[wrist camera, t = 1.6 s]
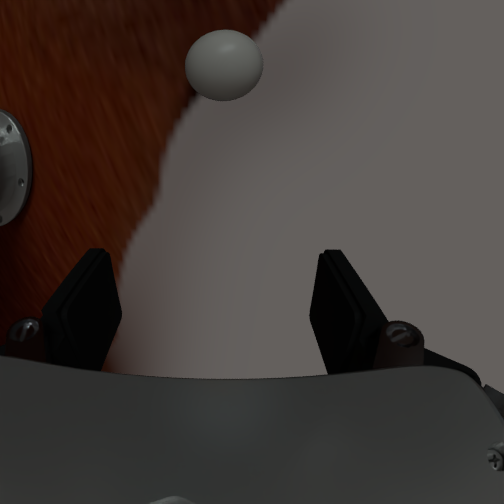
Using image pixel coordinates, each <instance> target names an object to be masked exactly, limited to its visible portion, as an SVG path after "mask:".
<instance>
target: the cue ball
mask: <svg viewBox="0 0 504 504" xmlns="http://www.w3.org/2000/svg"><path fill="white" fill-rule="evenodd" d="M262 71H263V58H262V54H261V52H260V50H259V48H258V46H257V45H256V44H255V42H254V41H253V40H252V39H250V38H249V37H248V36H246V35H244V34H242V33H240V32H237V31H233V30H218V31H213V32H210V33H208V34H206V35H204V36H202V37H201V38H199V39H198V40H197V41H196V42H195V43H194V44H193V45H192V47H191V48H190V50H189V52H188V54H187V57H186V61H185V72H186V76H187V79H188V81H189V83H190V84H191V86H192V87H193V88H194V89H195V90H196V91H197V92H198V93H199V94H201V95H202V96H204V97H206V98H209V99H212V100H217V101H230V100H234V99H237V98H240V97H242V96H244V95H246V94H247V93H249V92H250V91H251V90H252V89H253V88H254V87H255V86H256V84H257V83H258V81H259V79H260V77H261V75H262Z"/></svg>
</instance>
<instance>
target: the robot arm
mask: <svg viewBox="0 0 504 504" xmlns="http://www.w3.org/2000/svg"><path fill="white" fill-rule="evenodd" d="M31 181H32V159H31V152H30V147H29V144H28V140H27V137H26V135H25V133H24V130H23V128H22V127H21V125H20V124H19V122H18V121H17V119H15V118H14V117H13V116H12V115H11V114H10V113H8V112H6V111H5V110H1V109H0V226H2V225H5V224H7V223H9V222H10V221H11V220H13V219H14V218H15V217H16V216H17V215H18V214H19V213H20V212H21V210H22V209H23V207H24V206H25V203H26V201H27V198H28V196H29V192H30V187H31ZM41 311H42V313H43V316H42V317H41V319H39V318H37V317H31V316H29V317H24V318H21V319H19V320H17V321H16V322H14V323H13V324H12V325H11V326H10V327H9V329H8V330H7V333H6V342H5V344H4V345H2V346H0V504H504V394H503V393H501V392H499V391H497V390H495V389H494V388H491V387H490V386H488V385H487V384H486V385H485V386H484V388H483V387H482V386H481V381H480V378H479V377H478V375H477V373H476V372H474V371H473V370H472V369H470V368H469V367H467V366H465V365H462V364H460V363H457V362H455V361H453V360H451V359H448V358H446V357H444V356H441V355H439V354H437V353H435V352H432V351H430V350H428V349H425V348H424V337H423V334H422V333H421V331H420V330H419V329H418V328H417V327H415V326H414V325H412V324H410V323H407V322H404V321H390V322H389V321H388V320H387V318H386V317H385V315H384V314H383V312H382V310H381V309H380V307H379V306H378V304H377V303H376V301H375V300H374V299H373V297H372V295H371V294H370V292H369V291H368V289H367V288H366V286H365V285H364V283H363V282H362V280H361V279H360V277H359V276H358V274H357V273H356V271H355V270H354V269H353V267H352V266H351V264H350V263H349V261H348V260H347V258H346V257H345V255H344V254H343V253H342V251H341V250H325V251H324V253H321V254H320V255H319V259H318V265H317V272H316V278H315V284H314V290H313V296H312V302H311V307H310V315H309V316H310V322H311V325H312V328H313V331H314V334H315V337H316V340H317V343H318V346H319V349H320V352H321V355H322V358H323V361H324V364H325V367H326V370H327V373H328V374H327V375H316V376H303V377H286V378H263V379H194V378H169V377H155V376H142V375H130V374H120V373H111V372H102V371H101V369H102V366H103V364H104V361H105V359H106V356H107V353H108V351H109V348H110V346H111V343H112V341H113V338H114V336H115V333H116V331H117V328H118V326H119V324H120V321H121V318H122V310H121V306H120V301H119V297H118V292H117V288H116V283H115V278H114V273H113V268H112V263H111V258H110V254H109V253H108V252H106V251H105V249H103V248H90V249H89V250H88V251H87V252H86V253H85V254H84V256H83V257H82V258H81V259H80V261H79V262H78V263H77V264H76V265H75V267H74V268H73V269H72V270H71V272H70V273H69V274H68V275H67V277H66V278H65V279H64V281H63V282H62V283H61V284H60V286H59V287H58V288H57V290H56V291H55V292H54V294H53V295H52V296H51V298H50V299H49V300H48V302H47V303H46V305H45V306H44V307H43V309H42V310H41Z"/></svg>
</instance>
